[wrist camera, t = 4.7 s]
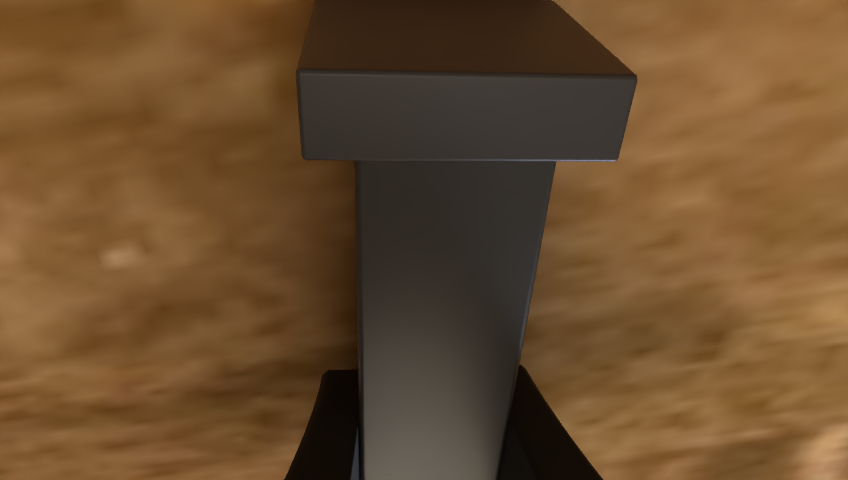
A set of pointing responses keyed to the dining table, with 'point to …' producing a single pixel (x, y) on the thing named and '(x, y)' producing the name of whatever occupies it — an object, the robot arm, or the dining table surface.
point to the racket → (450, 201)
